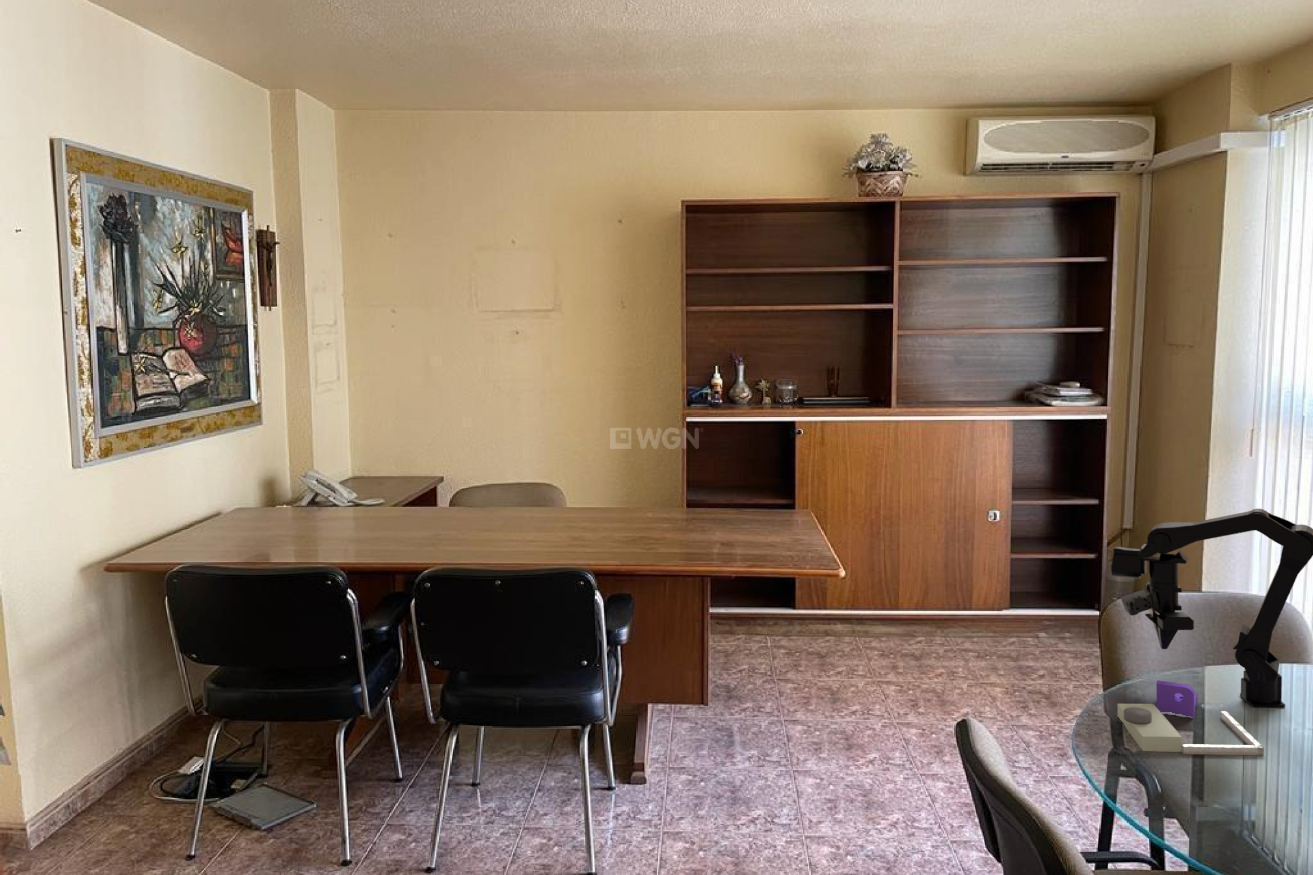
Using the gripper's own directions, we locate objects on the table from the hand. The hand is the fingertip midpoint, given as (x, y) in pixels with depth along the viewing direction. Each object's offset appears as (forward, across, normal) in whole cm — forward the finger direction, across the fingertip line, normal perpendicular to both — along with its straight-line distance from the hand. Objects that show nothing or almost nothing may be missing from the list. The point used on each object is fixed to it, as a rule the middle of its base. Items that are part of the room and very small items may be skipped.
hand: (1163, 648), depth 214 cm
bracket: (+10, +10, -1) cm, 14 cm away
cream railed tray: (+9, +25, -5) cm, 27 cm away
